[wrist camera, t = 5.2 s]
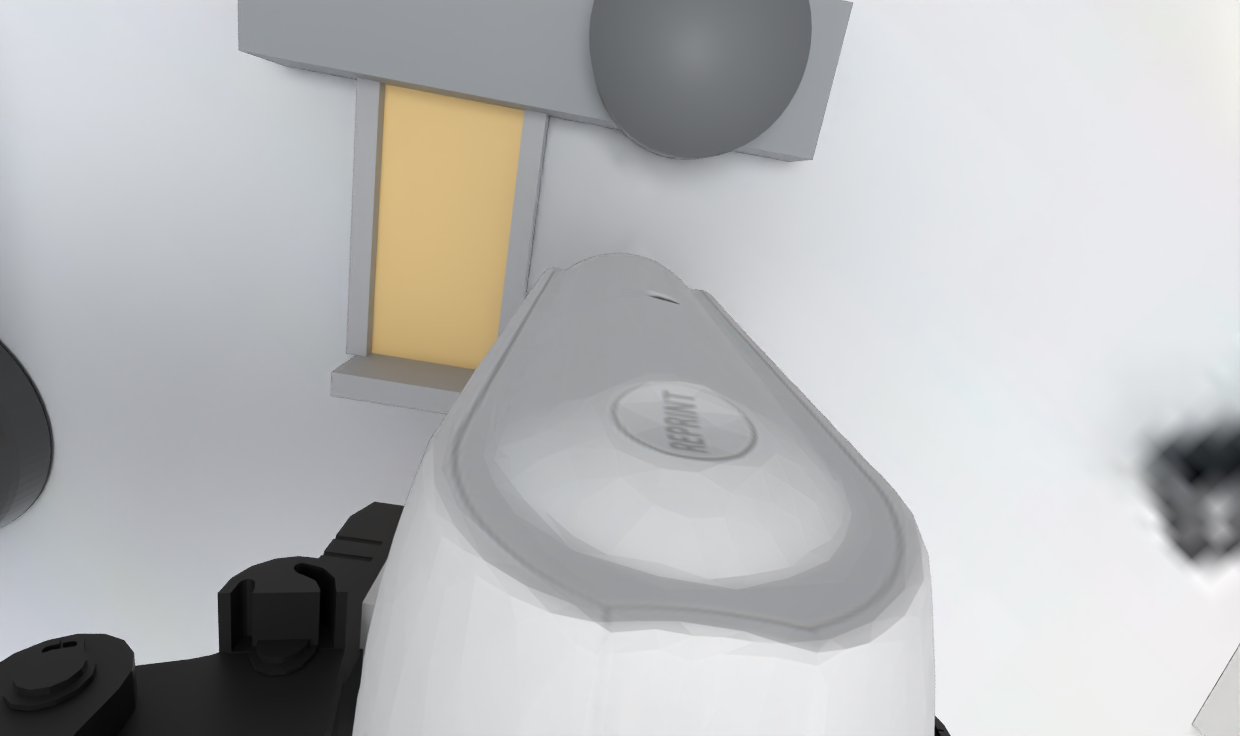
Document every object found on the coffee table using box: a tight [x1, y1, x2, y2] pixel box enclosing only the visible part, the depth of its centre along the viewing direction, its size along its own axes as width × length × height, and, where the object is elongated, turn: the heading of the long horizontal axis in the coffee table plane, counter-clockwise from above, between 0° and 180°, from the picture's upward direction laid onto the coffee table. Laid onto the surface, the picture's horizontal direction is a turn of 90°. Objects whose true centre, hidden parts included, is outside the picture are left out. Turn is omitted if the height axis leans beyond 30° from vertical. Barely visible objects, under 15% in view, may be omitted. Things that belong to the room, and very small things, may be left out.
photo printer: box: [352, 253, 935, 736], centre depth 9 cm, size 10×4×12 cm, turn 171°
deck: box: [238, 0, 853, 414], centre depth 26 cm, size 24×21×7 cm
